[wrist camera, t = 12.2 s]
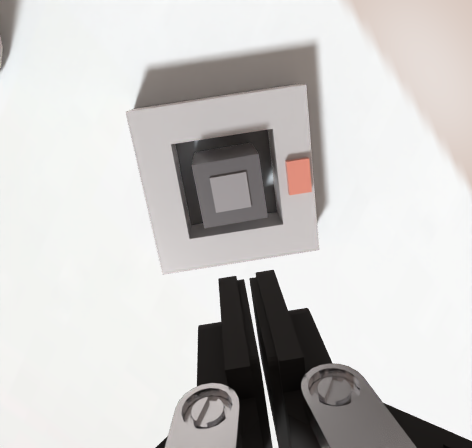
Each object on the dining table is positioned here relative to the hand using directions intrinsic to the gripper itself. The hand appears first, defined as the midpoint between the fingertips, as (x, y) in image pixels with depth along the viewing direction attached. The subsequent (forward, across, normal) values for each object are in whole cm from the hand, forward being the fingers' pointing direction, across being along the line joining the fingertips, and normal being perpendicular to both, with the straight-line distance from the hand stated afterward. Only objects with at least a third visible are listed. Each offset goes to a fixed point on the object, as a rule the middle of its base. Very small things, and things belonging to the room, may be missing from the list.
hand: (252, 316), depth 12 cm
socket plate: (+20, 0, +1) cm, 20 cm away
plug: (+20, 0, +1) cm, 21 cm away
